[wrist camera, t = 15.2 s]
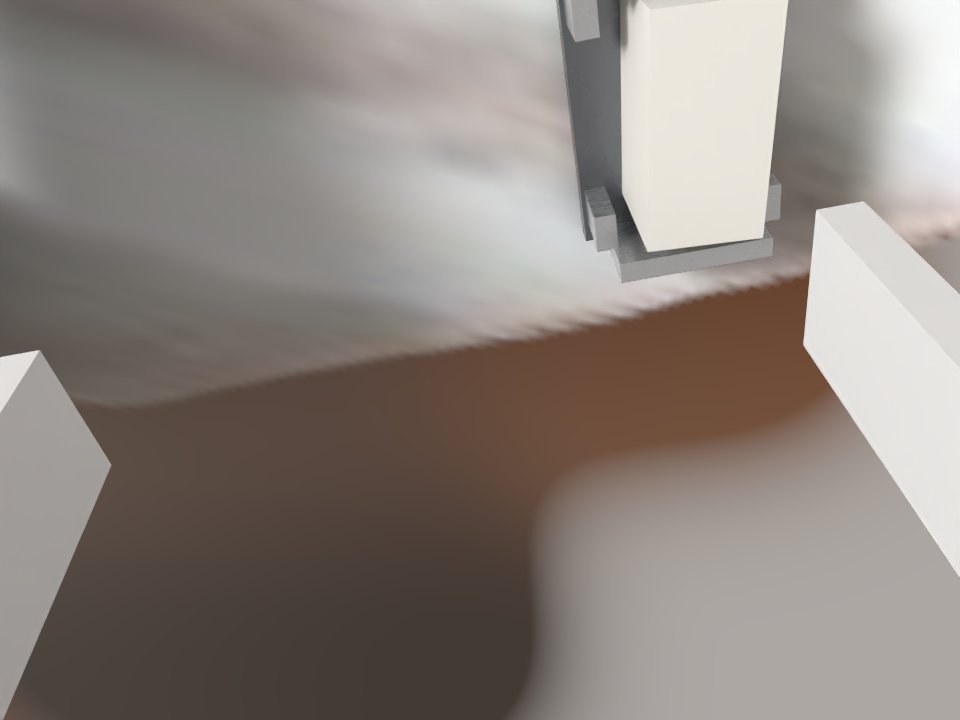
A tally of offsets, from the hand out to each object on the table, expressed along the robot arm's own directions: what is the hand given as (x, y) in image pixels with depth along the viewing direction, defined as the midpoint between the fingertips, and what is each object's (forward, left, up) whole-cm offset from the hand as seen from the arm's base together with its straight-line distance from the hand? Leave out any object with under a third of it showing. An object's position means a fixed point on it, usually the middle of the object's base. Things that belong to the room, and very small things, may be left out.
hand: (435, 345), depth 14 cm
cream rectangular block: (0, -11, -25) cm, 28 cm away
